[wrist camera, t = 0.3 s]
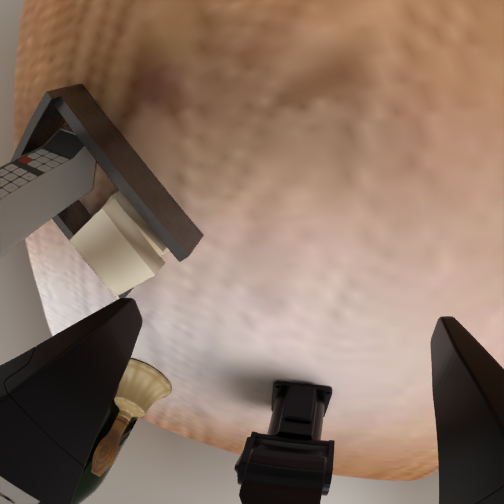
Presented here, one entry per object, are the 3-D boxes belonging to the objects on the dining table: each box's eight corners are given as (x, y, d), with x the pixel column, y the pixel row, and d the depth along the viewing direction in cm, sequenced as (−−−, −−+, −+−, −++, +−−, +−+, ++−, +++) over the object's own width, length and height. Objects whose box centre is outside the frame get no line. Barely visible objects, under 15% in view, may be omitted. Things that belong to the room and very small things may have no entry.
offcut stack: (186, 237, 25) (159, 272, 21) (143, 267, 28) (116, 300, 24) (136, 177, 23) (100, 202, 19) (99, 216, 26) (66, 243, 22)
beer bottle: (155, 388, 40) (62, 581, 13) (140, 408, 46) (64, 565, 19) (92, 349, 39) (-17, 531, 12) (88, 375, 45) (0, 525, 18)
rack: (203, 235, 25) (183, 264, 21) (136, 280, 29) (115, 306, 26) (81, 83, 20) (46, 91, 16) (36, 155, 24) (6, 170, 21)
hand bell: (182, 397, 40) (139, 496, 26) (138, 393, 43) (95, 478, 29) (151, 358, 36) (93, 467, 23) (107, 356, 39) (52, 447, 26)
